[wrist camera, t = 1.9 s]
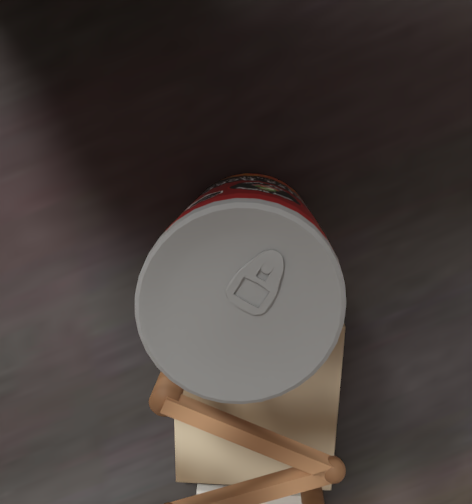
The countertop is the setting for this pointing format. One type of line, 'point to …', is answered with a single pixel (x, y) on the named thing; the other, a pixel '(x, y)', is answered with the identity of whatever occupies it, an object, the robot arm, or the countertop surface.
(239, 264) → the canned food
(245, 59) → the countertop surface
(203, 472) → the wooden zigzag stand
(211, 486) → the coaster
